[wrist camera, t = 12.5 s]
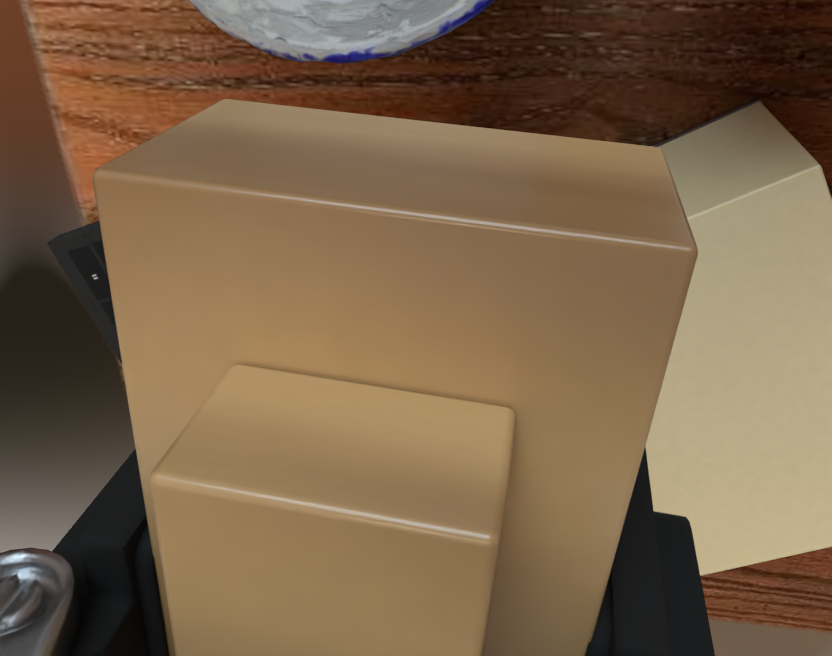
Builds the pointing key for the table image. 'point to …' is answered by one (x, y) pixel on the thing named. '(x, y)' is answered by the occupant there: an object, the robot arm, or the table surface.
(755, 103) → the bread box
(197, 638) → the brush
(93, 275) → the calculator
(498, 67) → the table surface
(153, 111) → the table surface
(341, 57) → the bowl
